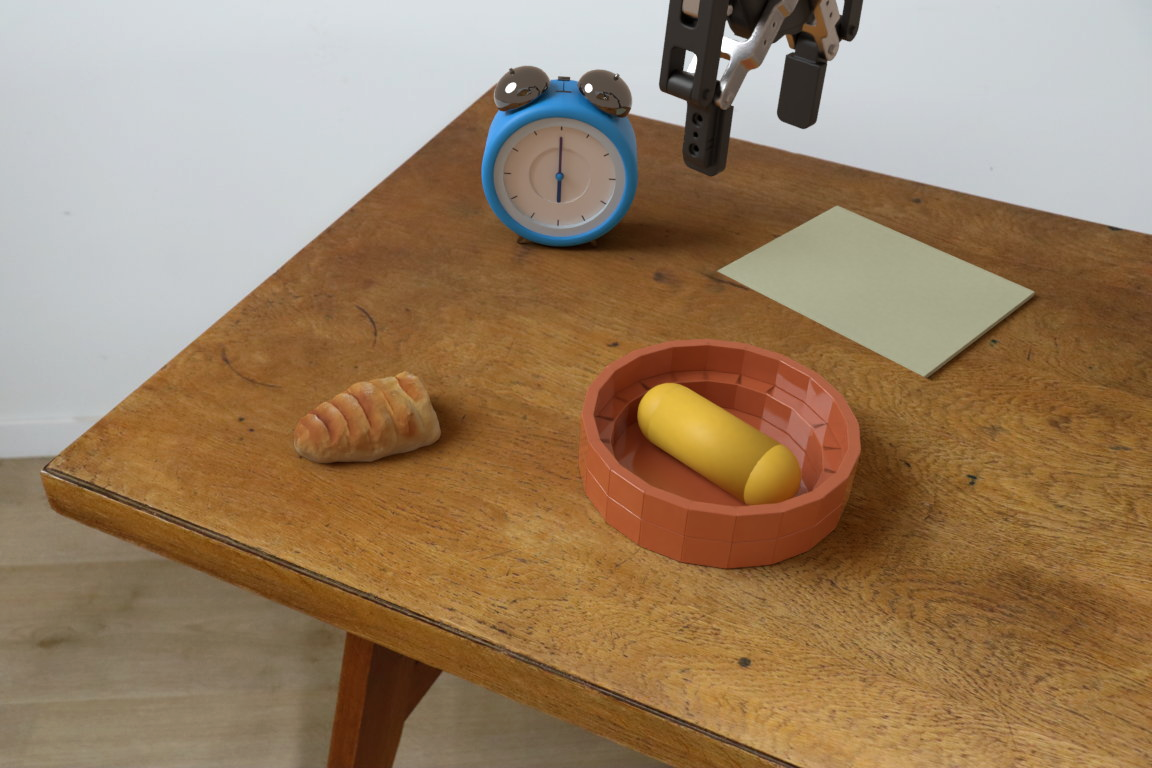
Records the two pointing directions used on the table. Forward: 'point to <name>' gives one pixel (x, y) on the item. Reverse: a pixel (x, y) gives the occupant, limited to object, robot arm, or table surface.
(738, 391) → the bowl
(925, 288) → the mat
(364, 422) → the pastry
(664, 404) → the yellow capsule
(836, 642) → the table surface
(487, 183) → the alarm clock
